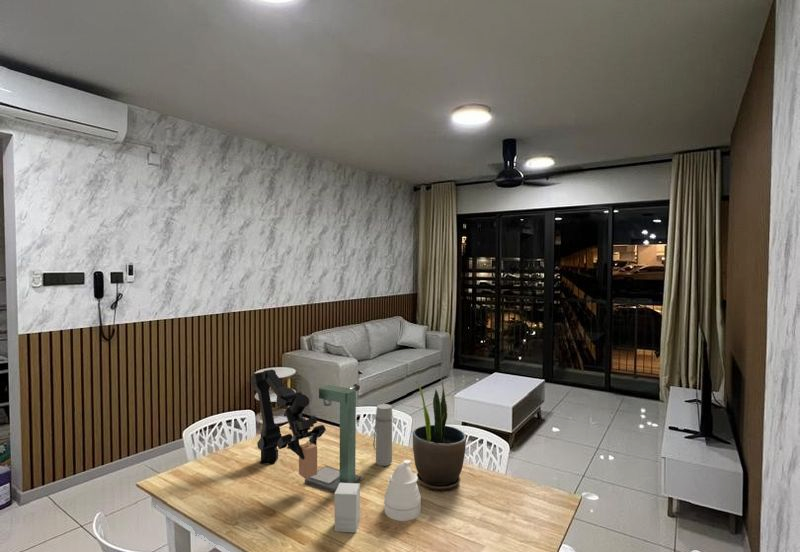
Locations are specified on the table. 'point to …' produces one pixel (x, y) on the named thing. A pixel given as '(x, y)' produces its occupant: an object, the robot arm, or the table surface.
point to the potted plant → (438, 449)
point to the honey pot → (402, 494)
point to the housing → (308, 460)
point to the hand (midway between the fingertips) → (309, 457)
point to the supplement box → (347, 507)
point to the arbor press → (346, 474)
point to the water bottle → (383, 434)
